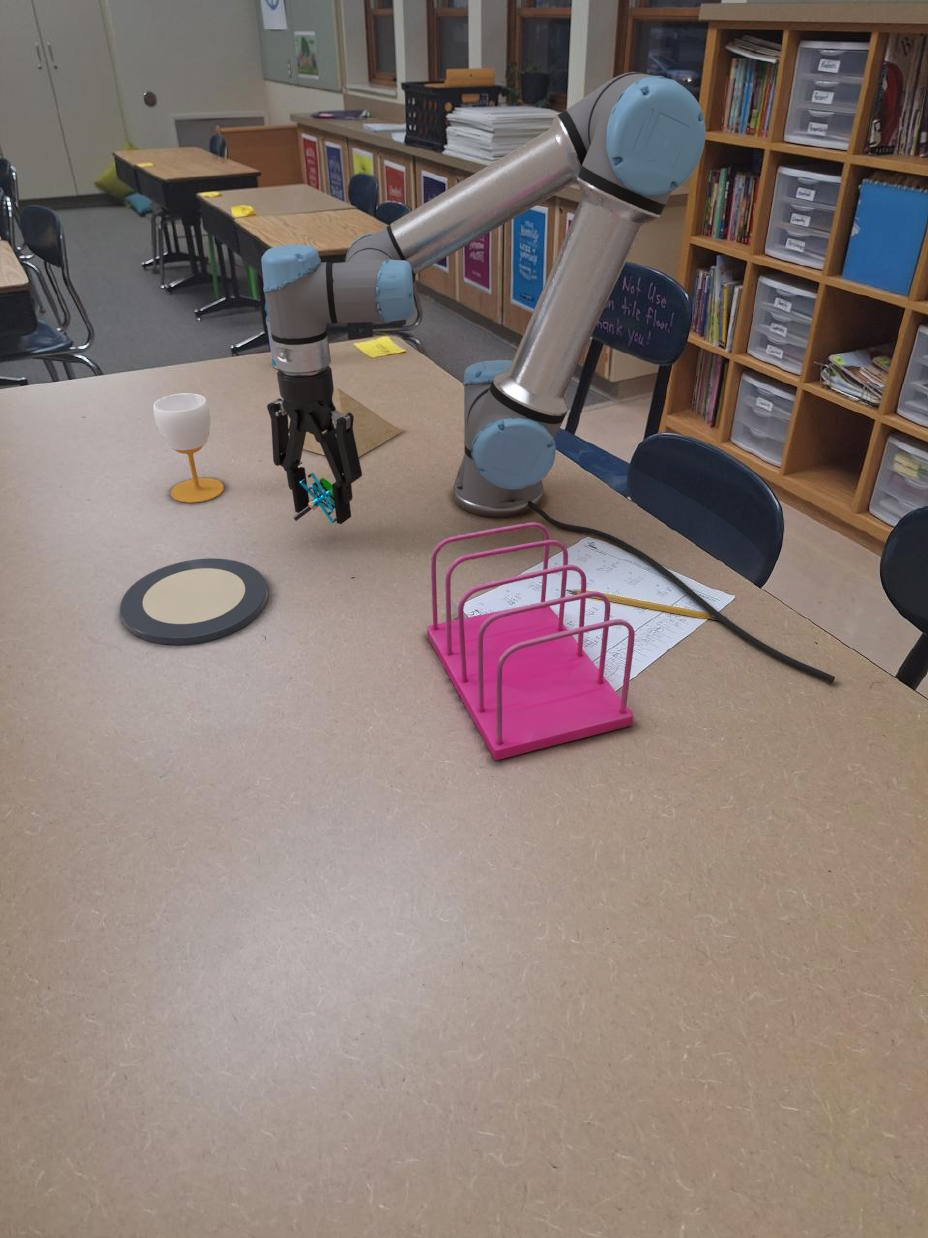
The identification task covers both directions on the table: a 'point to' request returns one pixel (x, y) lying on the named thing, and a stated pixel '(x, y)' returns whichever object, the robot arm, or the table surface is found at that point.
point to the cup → (187, 440)
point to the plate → (194, 601)
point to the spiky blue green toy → (319, 497)
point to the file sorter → (528, 661)
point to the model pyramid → (357, 425)
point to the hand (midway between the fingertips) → (323, 514)
